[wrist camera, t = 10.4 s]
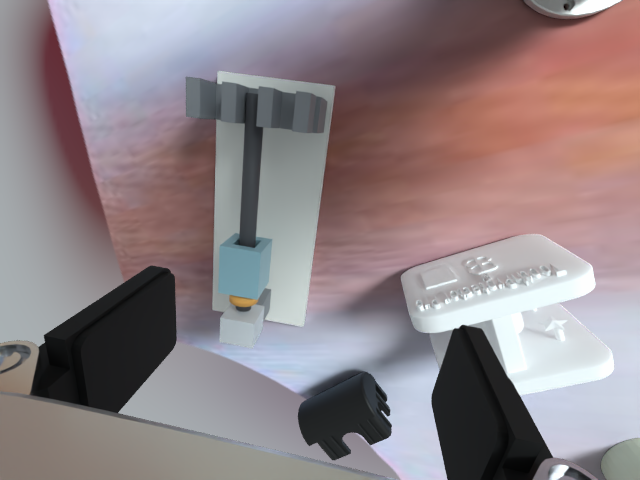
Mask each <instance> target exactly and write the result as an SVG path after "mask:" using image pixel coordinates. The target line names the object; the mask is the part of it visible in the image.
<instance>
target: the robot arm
mask: <svg viewBox="0 0 640 480" xmlns="http://www.w3.org/2000/svg"><path fill="white" fill-rule="evenodd" d="M523 1H524V2H525V3H526V4H527V5H528V6H530V7H531V8H532V9H534V10H535V11H536V12H538V13H541V14H543V15H546V16H548V17H552V18H559V19H578V18H582V17H586V16H590V15H594V14H596V13H598V12H601V11H603V10H605V9H608V8H610V7H611V6H613V5H615V4H617V3H619V2H621V1H622V0H523ZM563 5H564V6H566V10H564V8H563ZM44 339H45V343H44V344H42V345H41V346H40V347H38V346H37V345H36V344H34V343H33V342H29V341H20V340H19V341H18V340H17V341H8V342H4V343H0V480H398V479H393V478H389V477H385V476H381V475H377V474H373V473H368V472H365V471H360V470H356V469H352V468H348V467H344V466H340V465H336V464H331V463H327V462H323V461H319V460H315V459H311V458H307V457H303V456H299V455H294V454H290V453H286V452H282V451H278V450H273V449H269V448H265V447H261V446H256V445H252V444H248V443H244V442H240V441H235V440H231V439H227V438H223V437H218V436H214V435H210V434H205V433H201V432H197V431H193V430H188V429H184V428H180V427H175V426H171V425H167V424H162V423H158V422H153V421H149V420H145V419H141V418H136V417H131V416H127V415H123V414H119V413H118V412H119V411H120V410H121V408H122V407H123V406H124V405H125V404H126V403H127V402H128V400H129V399H130V398H131V397H132V396H133V395H134V394H135V392H136V391H137V390H138V389H139V388H140V386H141V385H142V384H143V383H144V382H145V381H146V380H147V378H148V377H149V376H150V375H151V374H152V373H153V372H154V370H155V369H156V368H157V367H158V366H159V365H160V364H161V362H162V361H163V360H164V359H165V358H166V357H167V356H168V354H169V353H170V352H171V351H172V350H173V348H174V346H175V344H176V304H175V277H174V275H173V274H171V272H170V270H169V269H167V268H162V267H157V266H149V267H148V268H146V269H144V270H143V271H141V272H140V273H138V274H137V275H135V276H134V277H132V278H131V279H129V280H128V281H126V282H125V283H123V284H122V285H120V286H119V287H117V288H115V289H114V290H112V291H111V292H109V293H108V294H106V295H105V296H103V297H102V298H100V299H99V300H97V301H96V302H94V303H92V304H91V305H89V306H88V307H87V308H85V309H83V310H82V311H80V312H79V313H77V314H76V315H74V316H73V317H71V318H70V319H68V320H66V321H65V322H64V323H62V324H60V325H59V326H57V327H56V328H54V329H53V330H51V331H50V332H48V333H47V334H45V335H44ZM432 408H433V413H434V418H435V422H436V427H437V432H438V437H439V441H440V446H441V451H442V455H443V460H444V465H445V470H446V474H447V479H448V480H598V479H597V478H596V477H595V476H593V475H592V474H591V473H589V472H588V471H587V470H585V469H583V468H582V467H580V466H578V465H576V464H575V463H572V462H569V461H567V460H564V459H559V458H553V456H552V455H551V453H550V451H549V449H548V447H547V445H546V444H545V442H544V440H543V438H542V436H541V434H540V432H539V431H538V429H537V427H536V425H535V423H534V421H533V419H532V418H531V416H530V414H529V412H528V410H527V408H526V406H525V405H524V403H523V401H522V399H521V397H520V395H519V393H518V392H517V390H516V388H515V386H514V384H513V382H512V381H511V380H510V379H509V378H508V376H507V375H506V373H505V371H504V369H503V367H502V365H501V363H500V361H499V360H498V358H497V356H496V354H495V352H494V350H493V348H492V346H491V345H490V343H489V341H488V339H487V337H486V335H485V333H484V331H483V330H482V329H481V328H477V327H472V326H467V325H461V326H460V327H459V329H458V328H454V329H453V331H452V334H451V337H450V340H449V344H448V347H447V350H446V353H445V356H444V359H443V362H442V365H441V368H440V371H439V374H438V377H437V380H436V384H435V387H434V390H433V393H432Z"/></svg>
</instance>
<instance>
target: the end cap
mask: <svg viewBox="0 0 640 480" xmlns="http://www.w3.org/2000/svg"><path fill="white" fill-rule="evenodd" d="M386 401H387V395H386V394H385V393H384V391H383V390H382V389H381V387H380V386H379V385H378V384H377V382H376V381H375V379H374V377H373V376H372V375H371V374H369V373H367V372H362V373H360V374H358V375H356V376H354V377H352V378H350V379H348V380H346V381H344V382H342V383H340V384H338V385H336V386H334V387H332V388H330V389H328V390H326V391H324V392H322V393H320V394H318V395H316V396H314V397H312V398H310V399H308V400H306V401H304V402H303V403H302V404H301V405H300V408H299V412H298V420H299V427H300V430H301V433H302V435H303V438H304V439H305V441H306V442H307V444H308V445H309V446H310V445H312V444H314V443H318V444H319V445H320V447H321V448H322V449H323V450H324V451H325V452H326V454H327V455H328V456H329V457H330V458H331V459H332V460H336V459H339V458H341V457H343V456H346V455H348V454H350V453H351V450H350V449H349V448H348V446H347V445H346V444H345V443H344V442H343V440H342V437H343V436H344V435H345V434H346V433H350V432H354V433H358V434H360V435H362V436H363V437H364V438H365V440H366V441H367V442H368V443H369V444H370V445H372V444H375V443H377V442H379V441H382V440H384V439H387V438H388V437H390V435H391V427H392V425H391V423H390V422H389V421H388V420H387V418H386V417H385V416H384V415H383V413H382V412H381V411H382V410H383V412H384V413H385V414H386V415H387V416H390V408H389V406H388V405H387V404H386V403H385V402H386Z"/></svg>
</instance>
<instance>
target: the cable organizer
mask: <svg viewBox="0 0 640 480" xmlns="http://www.w3.org/2000/svg"><path fill="white" fill-rule="evenodd" d="M401 283H402V287H403V291H404V295H405V299H406V304H407V308H408V312H409V315H410V318H411V321H412V323H413V326H414V328H415V329H416V330H417V331H419V332H423V333H430V340H431V344H432V347H433V350H434V353H435V357H436V360H437V363H438V366H439V370H440V368H441V365H442V362H443V359H444V356H445V353H446V350H447V347H448V344H449V340H450V337H451V334H452V331H453V329H454V328H458V329H459V327H460V326H461V325H467V326H472V327H477V328H481V329H482V330H483V331H484V333H485V335H486V337H487V339H488V341H489V343H490V345H491V346H492V348H493V350H494V352H495V354H496V356H497V358H498V360H499V361H500V363H501V365H502V367H503V369H504V371H505V373H506V375H507V376H508V378H509V379H510V380H511V381H512V382H513V384H514V386H515V388H516V390H517V392H518V393H519V395H526V394H531V393H536V392H541V391H546V390H551V389H556V388H561V387H566V386H571V385H576V384H581V383H587V382H592V381H596V380H600V379H603V378H605V377H607V376H608V375H610V374H611V373H612V372H613V370H614V361H613V356H612V352H611V350H610V349H609V348H608V347H607V346H606V345H605V344H604V343H603V342H602V341H601V340H599V339H598V338H597V337H596V336H595V335H594V334H593V333H592V332H591V331H589V330H588V329H587V328H586V327H585V326H584V325H583V324H582V323H581V322H579V321H578V320H577V319H576V318H575V317H574V316H573V315H572V314H571V313H569V312H568V311H567V310H566V309H565V308H564V307H563V306H562V305H561V304H559V303H560V302H564V301H568V300H572V299H575V298H578V297H581V296H583V295H586V294H587V293H589V292H590V291H592V290H593V289H594V287H595V279H594V273H593V268H592V266H591V264H589V263H588V262H586V261H584V260H583V259H581V258H579V257H578V256H576V255H574V254H573V253H571V252H570V251H568V250H566V249H565V248H563V247H561V246H560V245H558V244H556V243H555V242H553V241H551V240H550V239H548V238H546V237H545V236H543V235H540V234H524V235H518V236H514V237H511V238H507V239H504V240H501V241H497V242H494V243H491V244H488V245H484V246H481V247H478V248H474V249H471V250H468V251H464V252H461V253H458V254H455V255H451V256H448V257H445V258H441V259H438V260H435V261H431V262H428V263H425V264H422V265H418V266H415V267H413V268H411V269H409V270H407V271H406V272H404V273H403V274H402V275H401Z"/></svg>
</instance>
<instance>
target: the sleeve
mask: <svg viewBox="0 0 640 480" xmlns="http://www.w3.org/2000/svg"><path fill="white" fill-rule="evenodd" d="M271 249H272V239H268V238H262V237H256V244H255V248H252V247H246V246H240V245H239V234H238V233H235V234H234V235H232V236H231V237H230V238H229V239H227V240H226V241H225V242H224V243H222V244H221V245H220V249H219V284H218V293H222V294H228V295H233V296H239V297H244V298H250V299H255V300H258V298H259V297H260V295H261V294H262V292H263V290H264V289H265V287H266V286H267V284H268V282H269V273H270V261H271Z"/></svg>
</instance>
